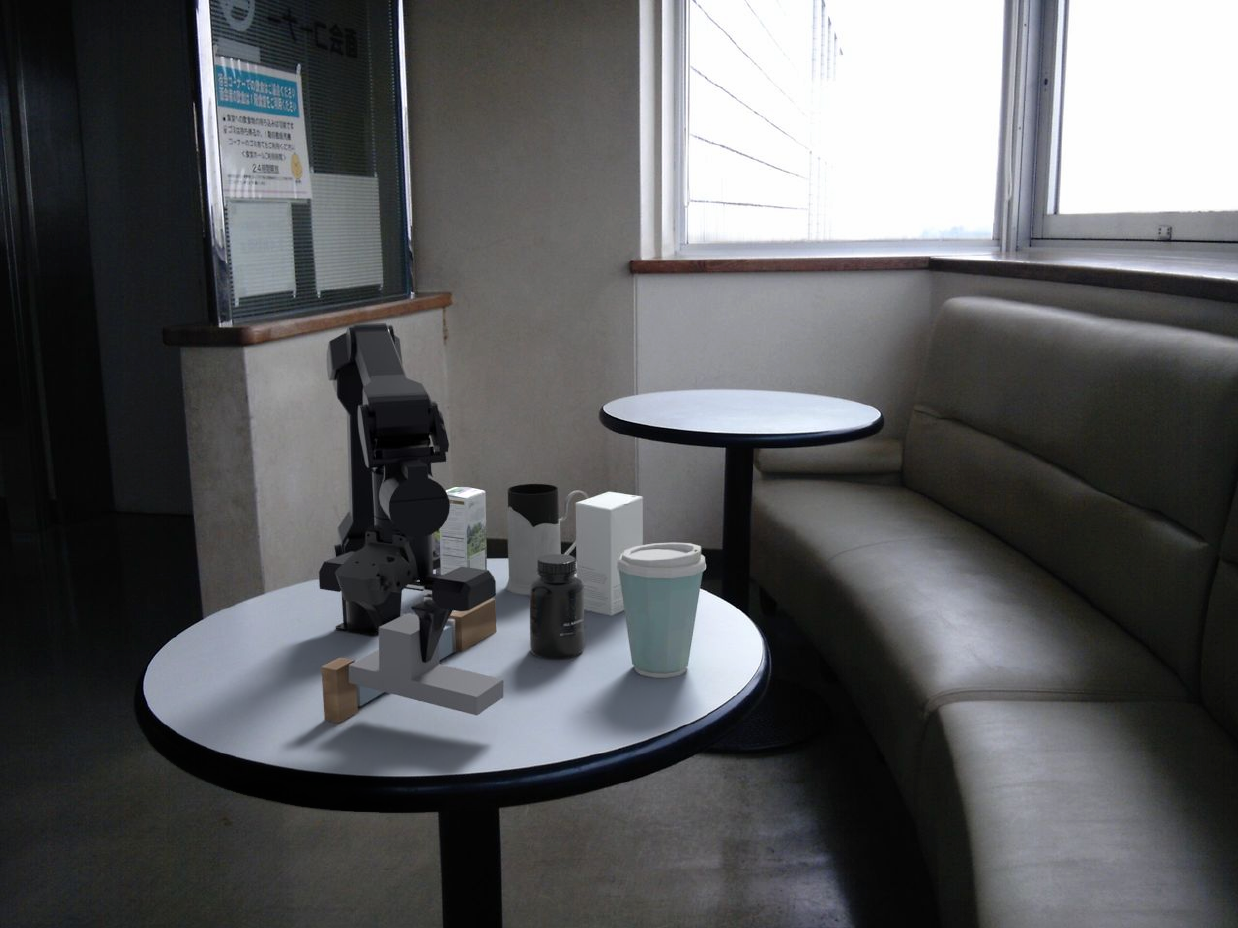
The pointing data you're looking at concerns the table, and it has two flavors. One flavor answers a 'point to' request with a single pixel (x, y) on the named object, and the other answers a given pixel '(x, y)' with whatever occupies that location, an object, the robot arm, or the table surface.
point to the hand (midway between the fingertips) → (409, 658)
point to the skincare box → (605, 546)
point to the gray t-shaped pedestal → (422, 672)
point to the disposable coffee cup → (661, 604)
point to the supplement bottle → (556, 608)
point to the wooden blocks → (336, 673)
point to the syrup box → (463, 531)
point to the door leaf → (445, 648)
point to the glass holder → (532, 531)
